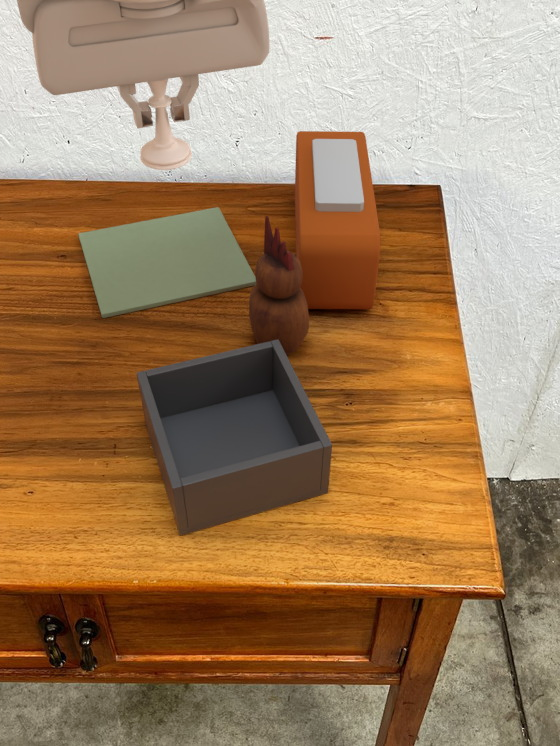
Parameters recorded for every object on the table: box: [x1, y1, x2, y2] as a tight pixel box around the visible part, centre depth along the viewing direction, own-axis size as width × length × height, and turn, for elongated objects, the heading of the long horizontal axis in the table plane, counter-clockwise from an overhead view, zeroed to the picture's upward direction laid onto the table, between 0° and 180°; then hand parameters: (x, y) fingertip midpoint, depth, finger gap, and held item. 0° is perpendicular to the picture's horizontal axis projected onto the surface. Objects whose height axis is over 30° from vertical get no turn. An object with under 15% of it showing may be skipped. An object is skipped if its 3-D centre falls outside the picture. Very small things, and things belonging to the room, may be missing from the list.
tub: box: [136, 339, 333, 537], centre depth 70 cm, size 14×14×7 cm
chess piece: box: [139, 79, 193, 171], centre depth 71 cm, size 5×5×10 cm
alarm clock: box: [294, 130, 381, 310], centre depth 90 cm, size 24×8×11 cm, turn 0°
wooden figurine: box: [248, 215, 310, 356], centre depth 77 cm, size 7×6×15 cm
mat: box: [77, 206, 256, 319], centre depth 92 cm, size 18×16×1 cm
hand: (162, 121), depth 72 cm, fingers closed on chess piece
